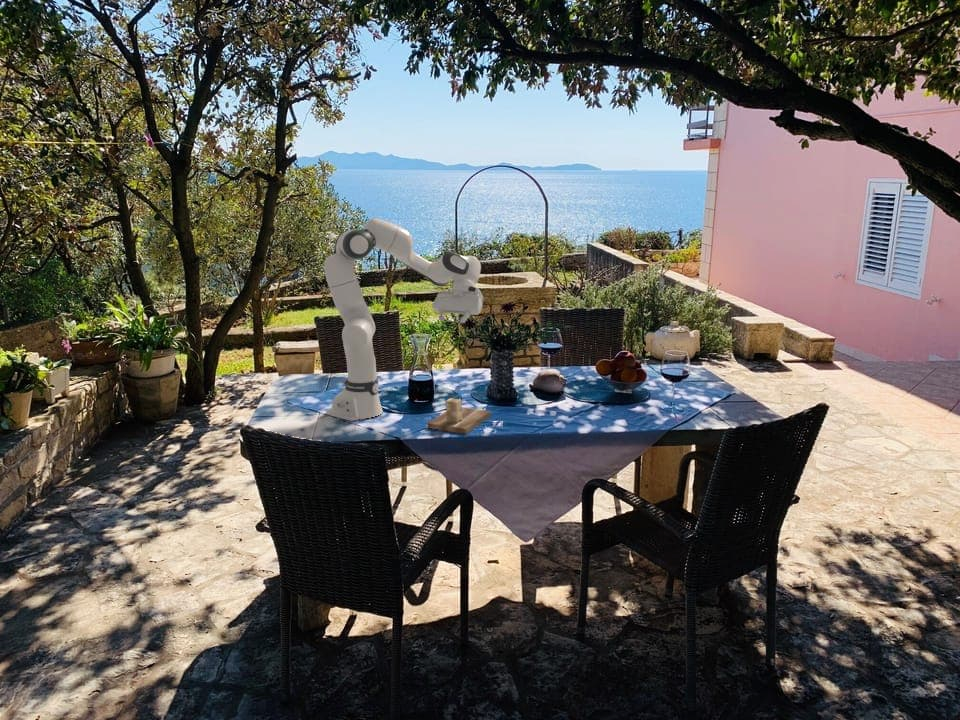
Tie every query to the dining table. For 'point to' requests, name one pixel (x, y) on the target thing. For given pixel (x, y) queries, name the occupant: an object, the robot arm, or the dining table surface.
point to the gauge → (454, 410)
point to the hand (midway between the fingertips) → (451, 321)
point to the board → (469, 421)
